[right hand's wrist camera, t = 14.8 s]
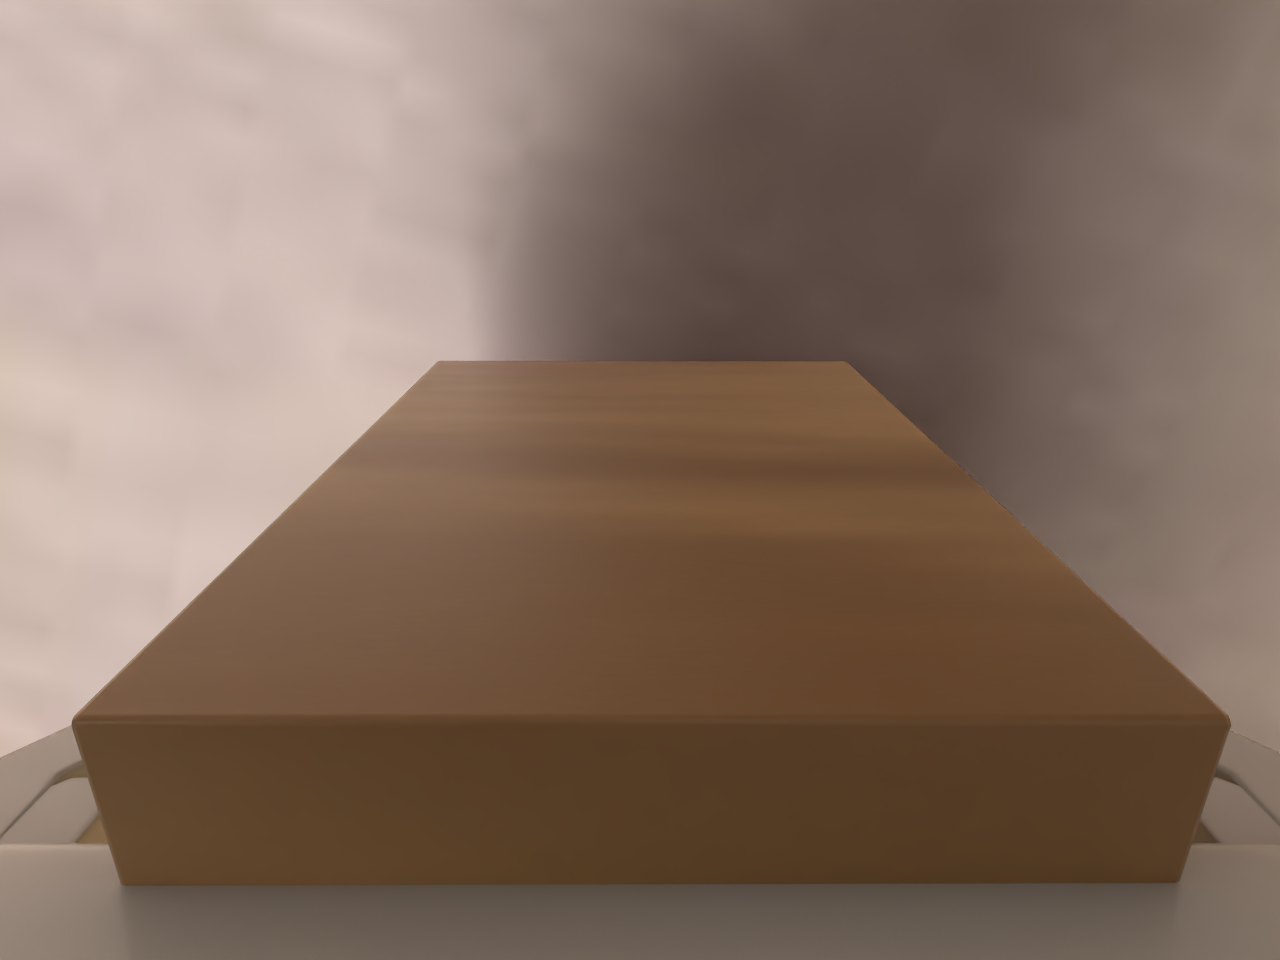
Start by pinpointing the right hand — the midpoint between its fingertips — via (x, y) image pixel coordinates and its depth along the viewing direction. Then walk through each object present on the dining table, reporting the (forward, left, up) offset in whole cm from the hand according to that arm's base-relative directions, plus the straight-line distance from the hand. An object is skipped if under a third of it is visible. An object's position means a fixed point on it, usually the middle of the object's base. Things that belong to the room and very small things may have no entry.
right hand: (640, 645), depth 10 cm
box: (+1, -10, -3) cm, 10 cm away
